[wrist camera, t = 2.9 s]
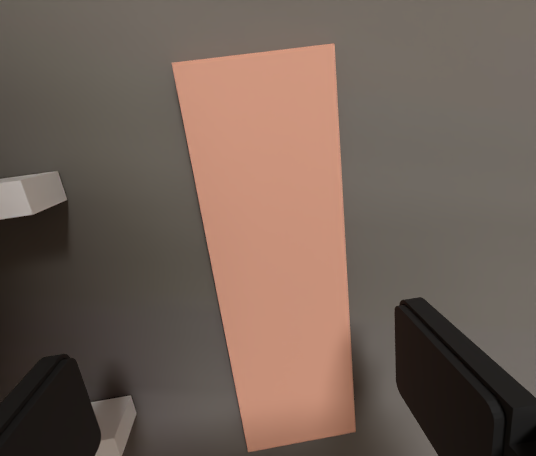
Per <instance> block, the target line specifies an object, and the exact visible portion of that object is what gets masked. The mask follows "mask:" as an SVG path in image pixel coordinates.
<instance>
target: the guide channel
mask: <svg viewBox="0 0 536 456" xmlns="http://www.w3.org/2000/svg"><path fill="white" fill-rule="evenodd" d="M172 67H173V72H174V77H175V82H176V87H177V92H178V97H179V102H180V107H181V112H182V117H183V123H184V128H185V133H186V138H187V143H188V148H189V153H190V158H191V163H192V168H193V173H194V179H195V184H196V189H197V194H198V199H199V204H200V209H201V214H202V219H203V224H204V229H205V235H206V240H207V245H208V250H209V255H210V260H211V265H212V270H213V275H214V280H215V285H216V291H217V296H218V301H219V306H220V311H221V316H222V321H223V326H224V331H225V336H226V341H227V347H228V352H229V357H230V362H231V367H232V372H233V377H234V382H235V387H236V392H237V397H238V403H239V408H240V413H241V418H242V423H243V428H244V433H245V438H246V443H247V448H248V452H252V451H257V450H263V449H268V448H273V447H279V446H284V445H289V444H294V443H300V442H305V441H310V440H316V439H321V438H326V437H331V436H337V435H342V434H347V433H352V432H356V428H355V409H354V391H353V373H352V355H351V337H350V319H349V301H348V282H347V264H346V246H345V228H344V210H343V192H342V174H341V155H340V137H339V119H338V101H337V83H336V65H335V47H334V44H326V45H318V46H309V47H301V48H293V49H284V50H276V51H268V52H259V53H251V54H243V55H234V56H226V57H217V58H209V59H201V60H192V61H184V62H176V63H172ZM66 200H67V197H66V194H65V191H64V188H63V185H62V182H61V179H60V176H59V173H58V171H54V172H46V173H39V174H32V175H24V176H17V177H10V178H2V179H0V219H7V218H14V217H21V216H28V215H34V214H36V213H38V212H40V211H43V210H45V209H47V208H50V207H52V206H54V205H57V204H59V203H61V202H63V201H66ZM91 405H92V407H93V410H94V413H95V416H96V419H97V422H98V425H99V427H100V431H101V442H100V445H99V448H98V450H97V452H96V454H95V456H122V455H123V452H124V449H125V446H126V443H127V440H128V437H129V434H130V431H131V428H132V425H133V423H134V420H135V417H136V414H137V413H136V410H135V407H134V403H133V400H132V397H131V395H130V396H124V397H118V398H113V399H107V400H101V401H96V402H91Z"/></svg>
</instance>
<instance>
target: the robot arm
mask: <svg viewBox="0 0 536 456" xmlns="http://www.w3.org/2000/svg"><path fill="white" fill-rule="evenodd" d="M395 352H396V383H397V387H398V390H399V392H400V394H401V396H402V398H403V399H404V401H405V402H406V404H407V406H408V407H409V409H410V411H411V412H412V414H413V415H414V417H415V419H416V420H417V422H418V423H419V425H420V427H421V428H422V430H423V431H424V433H425V435H426V436H427V438H428V440H429V441H430V443H431V444H432V446H433V448H434V449H435V451H436V452H437V454H438V456H536V398H535V397H534V396H533V395H532V394H531V393H530V392H528V391H527V390H526V389H525V388H524V387H523V386H522V385H521V384H519V383H518V382H517V381H516V380H515V379H514V378H513V377H512V376H510V375H509V374H508V373H507V372H506V371H505V370H504V369H502V368H501V367H500V366H499V365H498V364H497V363H496V362H495V361H493V360H492V359H491V358H490V357H489V356H488V355H487V354H486V353H484V352H483V351H482V350H481V349H480V348H479V347H478V346H476V345H475V344H474V343H473V342H472V341H471V340H470V339H469V338H467V337H466V336H465V335H464V334H463V333H462V332H461V331H460V330H458V329H457V328H456V327H455V326H454V325H453V324H452V323H450V322H449V321H448V320H447V319H446V318H445V317H444V316H443V315H441V314H440V313H439V312H438V311H437V310H436V309H435V308H433V307H432V306H431V305H430V304H429V303H428V302H427V301H426V300H424V299H423V298H421V297H419V298H413V299H406V300H402V301H401V302H400V306H396V307H395ZM100 442H101V431H100V427H99V425H98V422H97V419H96V416H95V413H94V410H93V407H92V405H91V402H90V399H89V396H88V393H87V390H86V387H85V385H84V382H83V379H82V376H81V373H80V370H79V368H78V365H77V362H76V360H75V359H73V358H70V357H69V356H68V355H67V354H61V355H55V356H49V357H44V358H42V359H41V360H39V361H38V363H37V364H36V365H35V366H34V367H33V368H32V369H31V370H30V372H29V373H28V374H27V375H26V376H25V377H24V378H23V379H22V380H21V382H20V383H19V384H18V385H17V386H16V387H15V388H14V389H13V390H12V392H11V393H10V394H9V395H8V396H7V397H6V398H5V399H4V400H3V402H2V403H1V404H0V456H95V454H96V452H97V450H98V448H99V445H100Z"/></svg>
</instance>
